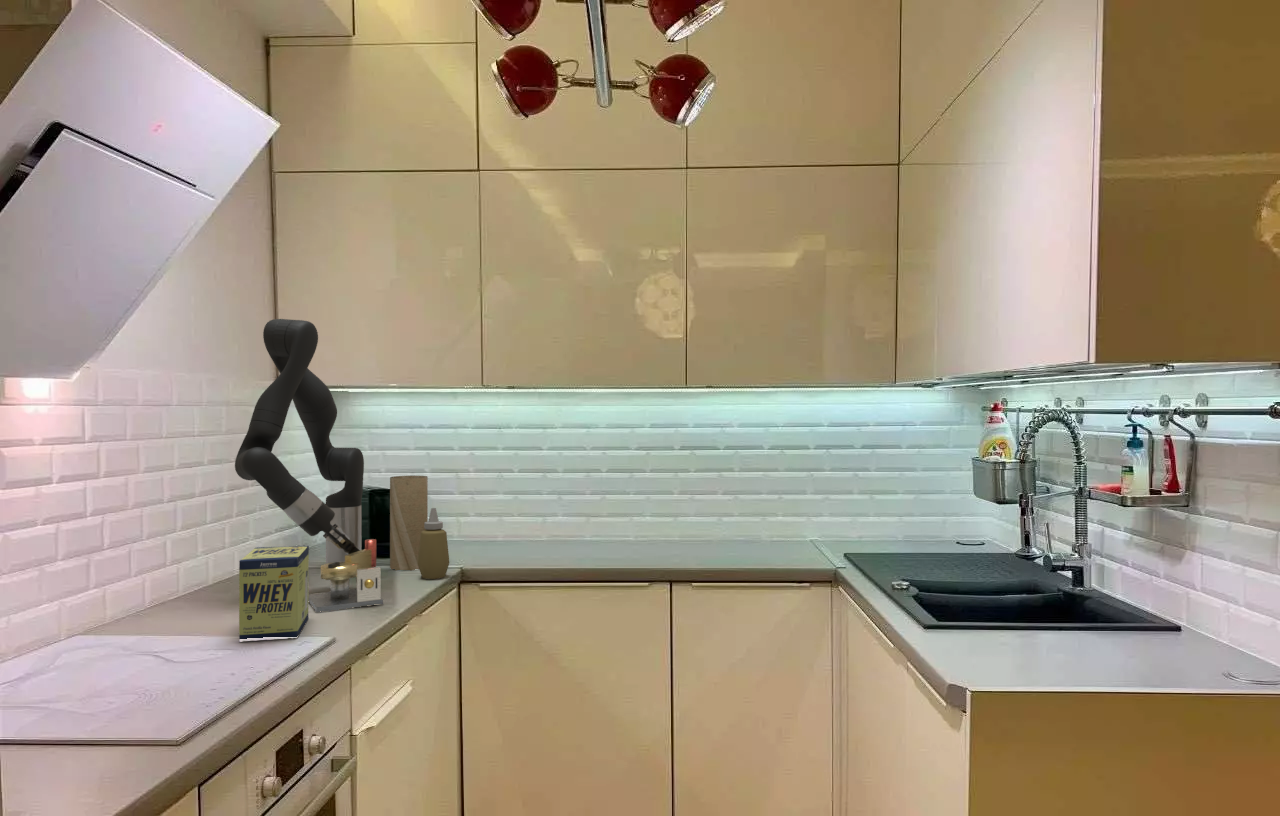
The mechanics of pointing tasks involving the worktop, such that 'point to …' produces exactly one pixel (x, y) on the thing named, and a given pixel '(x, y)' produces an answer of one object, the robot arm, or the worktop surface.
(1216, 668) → the worktop surface
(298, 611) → the protein box
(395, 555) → the tube
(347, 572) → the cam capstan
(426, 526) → the squeeze bottle
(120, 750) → the worktop surface
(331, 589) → the stand
